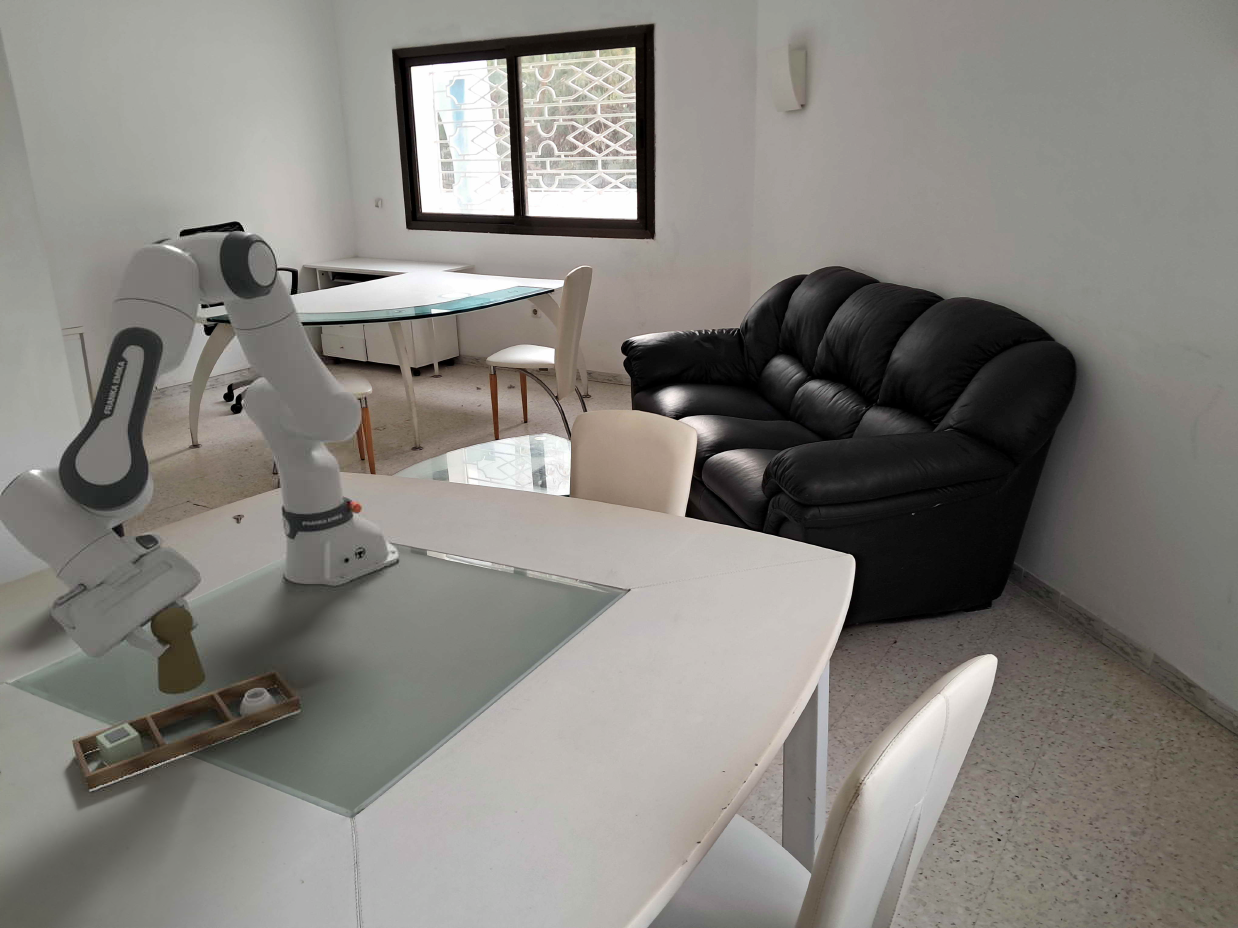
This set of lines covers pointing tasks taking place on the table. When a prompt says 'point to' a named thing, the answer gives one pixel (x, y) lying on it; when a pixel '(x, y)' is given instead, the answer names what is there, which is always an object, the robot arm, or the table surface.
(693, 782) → the table surface
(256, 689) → the lidless jar
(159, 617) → the cork
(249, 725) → the organiser
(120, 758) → the cube with grey panel
